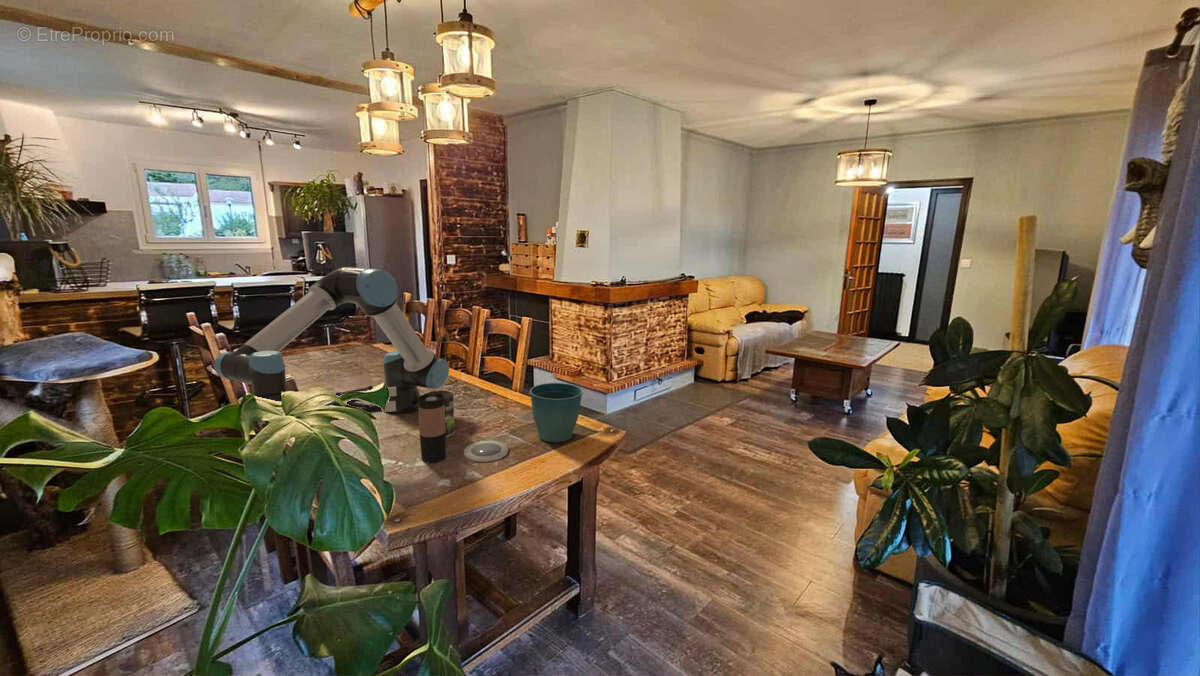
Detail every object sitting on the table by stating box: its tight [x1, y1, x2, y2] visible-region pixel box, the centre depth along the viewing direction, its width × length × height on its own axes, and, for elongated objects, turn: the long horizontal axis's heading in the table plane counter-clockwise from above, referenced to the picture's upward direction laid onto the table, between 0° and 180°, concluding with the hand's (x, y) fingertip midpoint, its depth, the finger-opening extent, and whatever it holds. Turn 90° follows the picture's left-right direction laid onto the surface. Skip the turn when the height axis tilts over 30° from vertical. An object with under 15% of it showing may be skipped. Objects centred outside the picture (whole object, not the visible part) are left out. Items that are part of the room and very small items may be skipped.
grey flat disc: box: [463, 440, 509, 463], centre depth 153 cm, size 14×14×1 cm
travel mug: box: [418, 393, 447, 464], centre depth 146 cm, size 8×8×20 cm
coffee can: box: [423, 390, 456, 438], centre depth 165 cm, size 10×10×14 cm
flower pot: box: [529, 382, 583, 443], centre depth 166 cm, size 18×18×17 cm
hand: (396, 398), depth 140 cm, fingers open, 13 cm apart
